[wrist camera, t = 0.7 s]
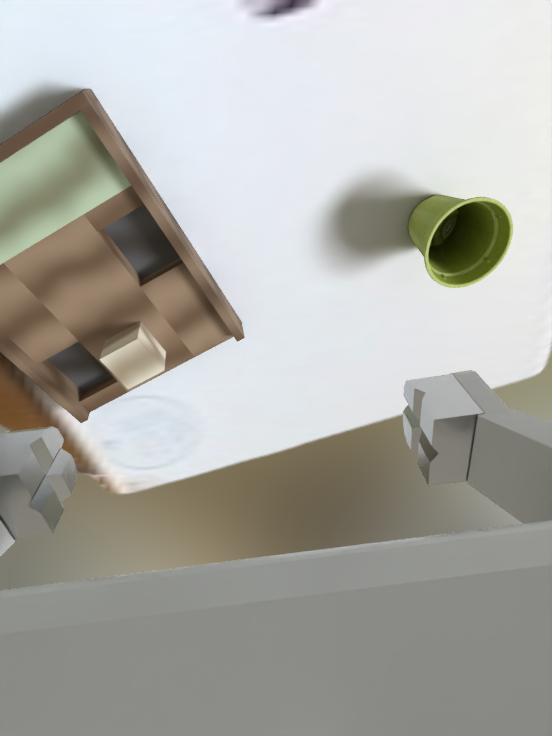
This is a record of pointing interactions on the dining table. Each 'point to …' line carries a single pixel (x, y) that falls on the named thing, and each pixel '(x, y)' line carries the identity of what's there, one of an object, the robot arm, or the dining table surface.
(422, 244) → the plant pot
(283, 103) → the dining table surface
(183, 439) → the dining table surface
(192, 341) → the box
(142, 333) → the cream block
